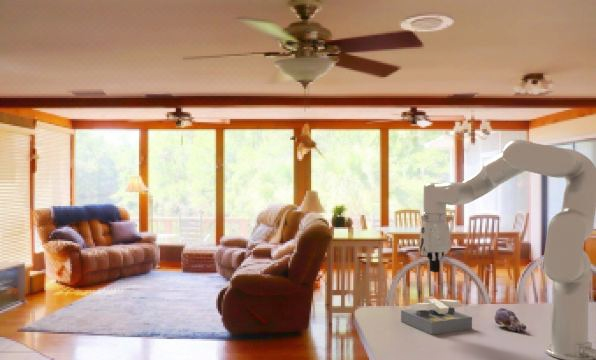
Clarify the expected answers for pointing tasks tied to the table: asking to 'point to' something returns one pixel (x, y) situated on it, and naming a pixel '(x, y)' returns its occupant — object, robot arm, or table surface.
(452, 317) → the switch unit
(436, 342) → the table surface
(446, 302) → the rocker
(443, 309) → the rocker
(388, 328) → the table surface
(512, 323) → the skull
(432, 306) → the block
